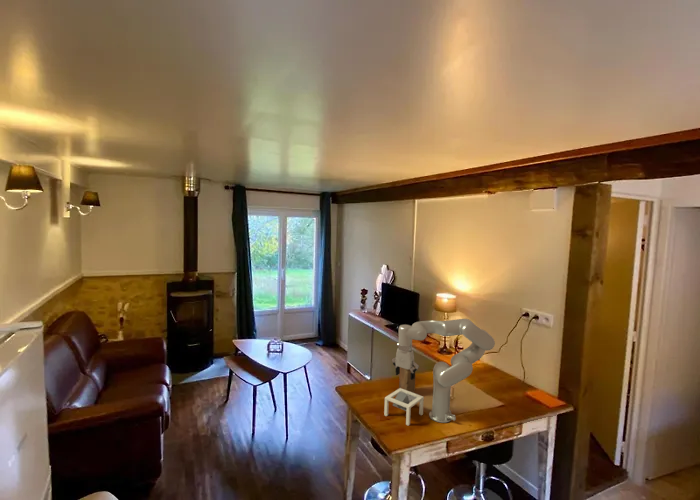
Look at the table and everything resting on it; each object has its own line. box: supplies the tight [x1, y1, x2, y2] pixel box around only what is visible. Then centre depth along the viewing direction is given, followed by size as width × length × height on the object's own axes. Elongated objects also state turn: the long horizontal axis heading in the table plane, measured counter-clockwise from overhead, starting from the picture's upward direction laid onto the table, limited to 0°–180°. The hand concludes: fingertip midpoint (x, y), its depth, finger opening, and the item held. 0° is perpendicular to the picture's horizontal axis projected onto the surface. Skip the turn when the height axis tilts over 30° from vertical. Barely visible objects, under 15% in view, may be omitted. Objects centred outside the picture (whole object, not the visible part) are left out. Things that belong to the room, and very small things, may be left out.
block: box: [398, 366, 416, 393], centre depth 239 cm, size 11×8×20 cm
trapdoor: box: [392, 392, 417, 412], centre depth 213 cm, size 10×10×1 cm
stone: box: [394, 392, 409, 408], centre depth 211 cm, size 5×5×6 cm
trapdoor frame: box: [383, 387, 425, 426], centre depth 213 cm, size 16×16×10 cm
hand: (405, 376), depth 210 cm, fingers open, 9 cm apart
